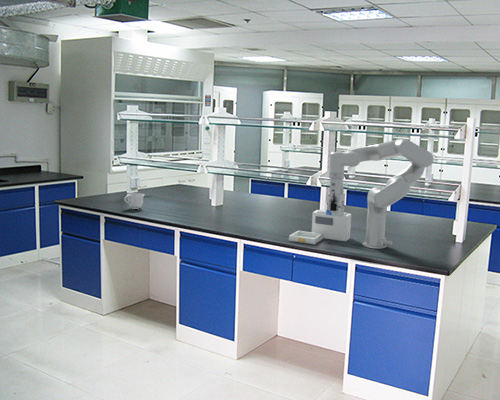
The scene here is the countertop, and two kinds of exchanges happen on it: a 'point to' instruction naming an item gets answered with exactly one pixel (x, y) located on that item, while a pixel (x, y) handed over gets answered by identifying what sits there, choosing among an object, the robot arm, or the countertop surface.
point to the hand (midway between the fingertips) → (335, 209)
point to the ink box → (340, 206)
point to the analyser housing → (331, 225)
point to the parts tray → (305, 237)
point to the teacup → (135, 200)
